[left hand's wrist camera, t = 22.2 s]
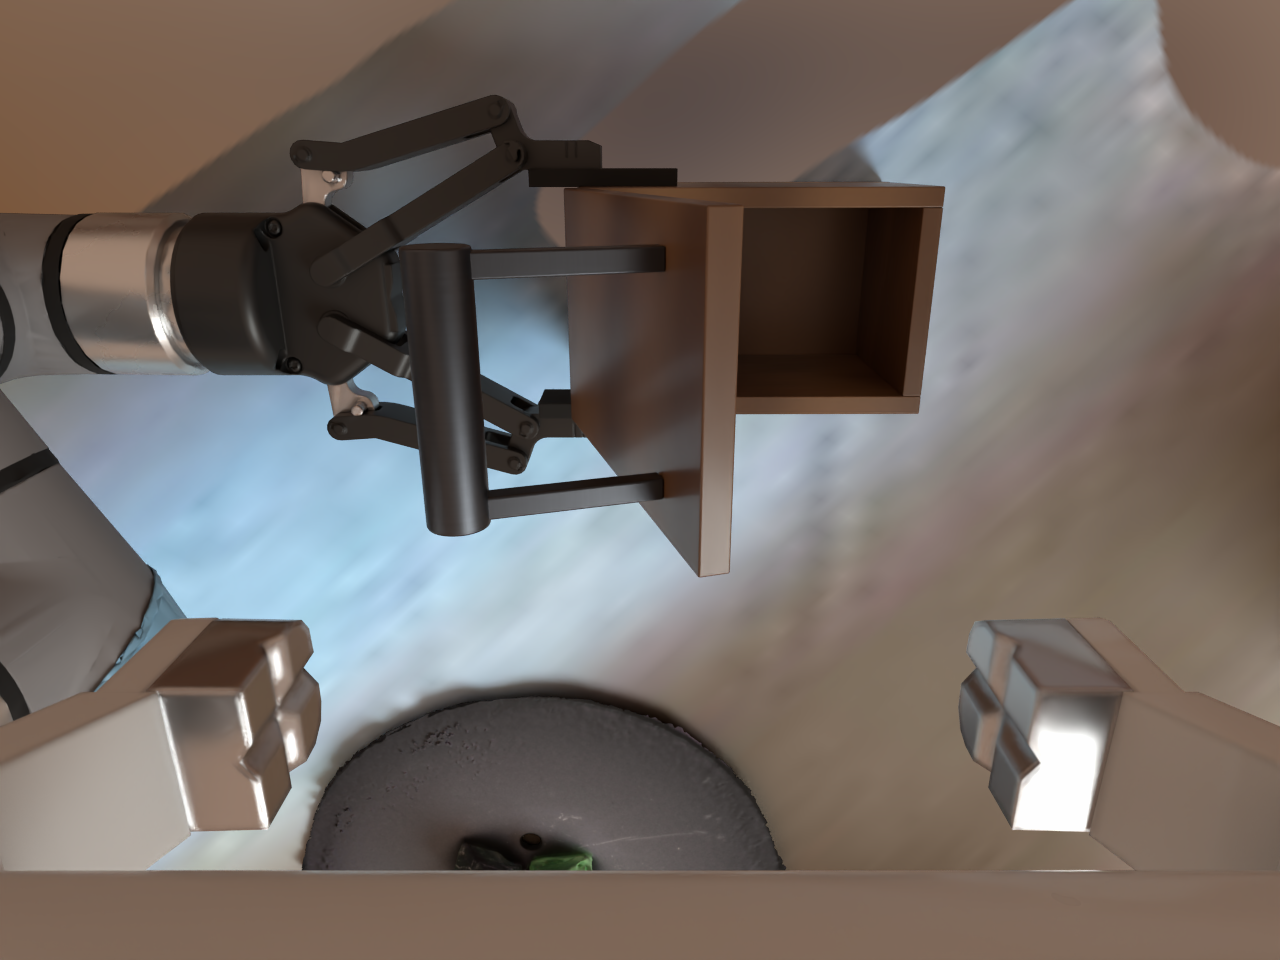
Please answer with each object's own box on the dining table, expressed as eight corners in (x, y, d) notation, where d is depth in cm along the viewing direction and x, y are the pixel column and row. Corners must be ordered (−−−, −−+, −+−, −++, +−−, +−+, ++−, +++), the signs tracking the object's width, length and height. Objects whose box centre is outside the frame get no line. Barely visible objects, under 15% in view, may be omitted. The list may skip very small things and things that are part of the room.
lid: (744, 204, 20) (397, 210, 18) (730, 573, 23) (439, 616, 21) (586, 187, 35) (384, 190, 32) (591, 417, 38) (410, 433, 36)
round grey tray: (285, 675, 54) (218, 779, 46) (819, 712, 55) (849, 821, 47) (327, 1018, 69) (282, 1144, 60) (751, 1044, 69) (765, 1172, 61)
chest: (883, 181, 44) (946, 186, 35) (865, 366, 48) (918, 414, 38) (589, 182, 44) (575, 187, 35) (593, 366, 48) (582, 415, 38)
